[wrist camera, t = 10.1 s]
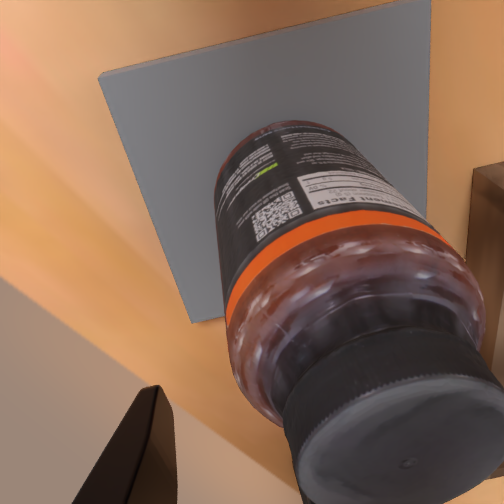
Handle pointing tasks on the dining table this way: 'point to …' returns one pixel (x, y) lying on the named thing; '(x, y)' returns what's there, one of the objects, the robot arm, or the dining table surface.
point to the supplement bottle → (353, 323)
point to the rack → (489, 263)
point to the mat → (270, 119)
